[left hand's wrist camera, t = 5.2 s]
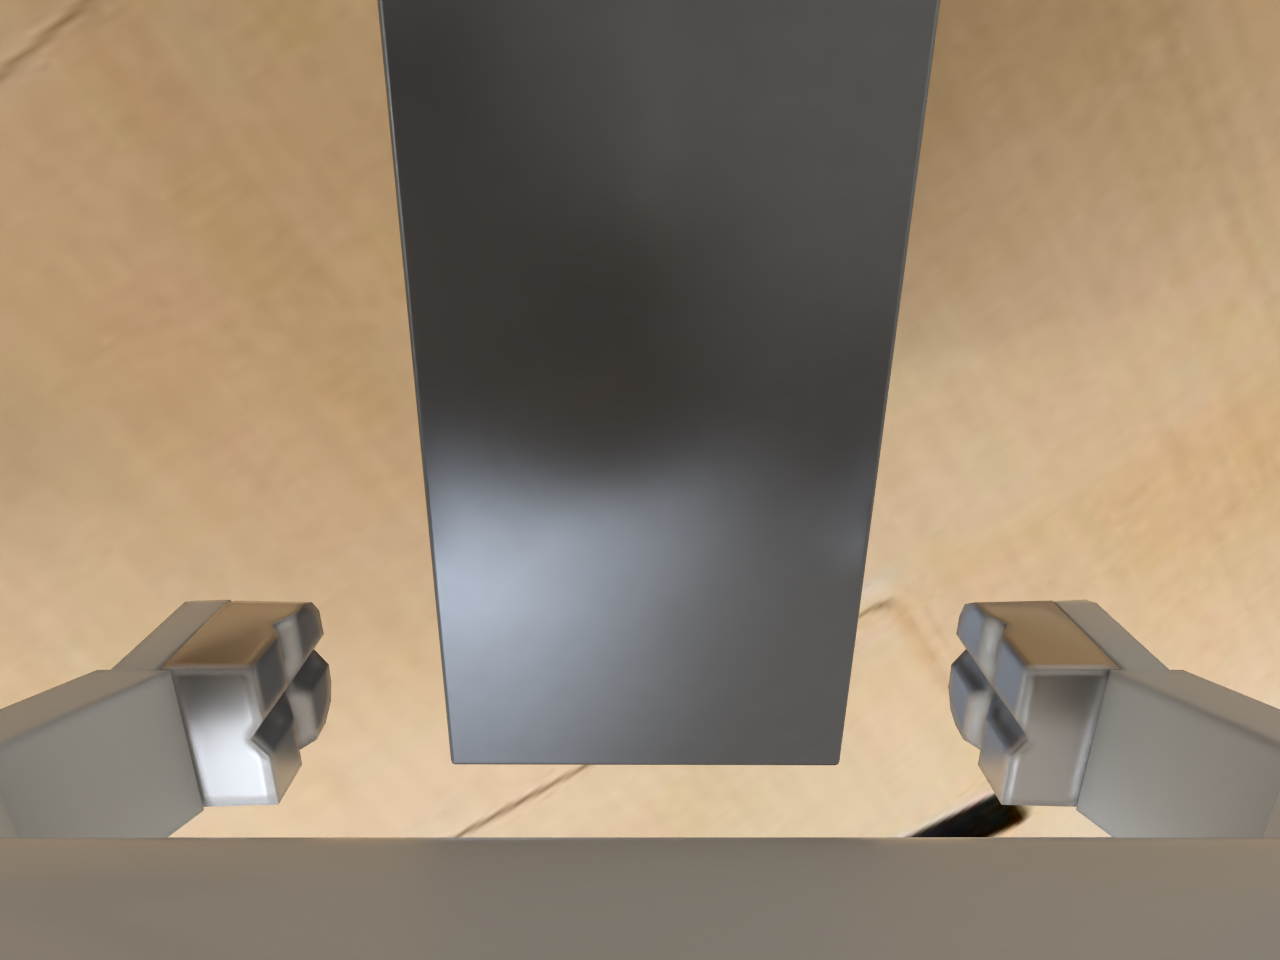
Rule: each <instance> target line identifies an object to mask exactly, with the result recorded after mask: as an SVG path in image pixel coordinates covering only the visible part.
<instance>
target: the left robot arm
mask: <svg viewBox="0 0 1280 960" xmlns="http://www.w3.org/2000/svg"><path fill="white" fill-rule="evenodd" d="M323 634H324V633H323V628H322V623H321V618H320V613H319V610H318V609H317V608H316V607H315V606H314V604H313V603H312V602H268V601H230V600H210V601H191V602H185V603H183V604H182V605H181V606H180V607H179V608H178V609H177V610H176V611H175V612H174V613H173V614H171V615H170V616H169V617H168V618H167V619H166V620H165V621H164V622H163V623H162V624H160V625H159V626H158V627H157V628H156V629H155V630H154V631H153V632H152V633H151V634H149V635H148V636H147V637H146V638H145V639H144V640H143V641H142V642H141V643H140V644H139V645H137V646H136V647H135V648H134V649H133V650H132V651H131V652H130V653H129V654H128V655H126V656H125V657H124V658H123V659H122V660H121V661H120V662H119V663H118V664H117V665H116V666H114V667H113V668H112V669H111V670H96V671H94V672H91V673H89V674H86V675H84V676H81V677H79V678H76V679H74V680H72V681H69V682H67V683H64V684H62V685H59V686H57V687H54V688H52V689H49V690H47V691H44V692H42V693H40V694H37V695H35V696H32V697H30V698H27V699H25V700H22V701H20V702H17V703H15V704H12V705H10V706H7V707H5V708H3V709H0V960H1280V709H1277V708H1275V707H1272V706H1270V705H1267V704H1265V703H1262V702H1260V701H1258V700H1255V699H1253V698H1250V697H1248V696H1245V695H1243V694H1240V693H1238V692H1235V691H1233V690H1231V689H1228V688H1226V687H1223V686H1221V685H1218V684H1216V683H1213V682H1211V681H1208V680H1206V679H1203V678H1201V677H1199V676H1196V675H1194V674H1191V673H1189V672H1186V671H1184V670H1169V669H1168V668H1167V667H1166V666H1165V665H1163V664H1162V663H1161V662H1160V661H1159V660H1158V659H1157V658H1156V657H1155V656H1154V655H1153V654H1151V653H1150V652H1149V651H1148V650H1147V649H1146V648H1145V647H1144V646H1143V645H1142V644H1141V643H1139V642H1138V641H1137V640H1136V639H1135V638H1134V637H1133V636H1132V635H1131V634H1130V633H1129V632H1127V631H1126V630H1125V629H1124V628H1123V627H1122V626H1121V625H1120V624H1119V623H1118V622H1116V621H1115V620H1114V619H1113V618H1112V617H1111V616H1110V615H1109V614H1108V613H1107V612H1106V611H1104V610H1103V609H1102V608H1101V607H1100V606H1099V605H1098V604H1097V603H1094V602H1091V601H1088V600H1070V601H1021V602H979V603H969V604H965V605H964V607H963V610H962V612H961V614H960V616H959V622H958V628H957V633H956V634H957V636H958V637H959V639H960V640H961V642H962V643H963V645H964V646H965V648H966V650H965V651H964V652H963V653H962V654H961V655H960V656H959V657H958V658H957V659H956V660H955V661H954V663H953V664H952V665H951V673H950V681H949V697H950V707H951V712H952V715H953V718H954V721H955V725H956V727H957V728H958V730H959V732H960V734H961V736H962V738H963V739H964V740H965V741H967V742H969V743H970V744H972V745H973V746H975V747H977V748H978V749H980V756H979V762H978V765H979V767H980V769H981V770H982V772H983V774H984V775H985V777H986V779H987V781H988V782H989V784H990V786H991V787H992V789H993V791H994V792H995V794H996V796H997V797H998V799H999V801H1000V803H1001V804H1002V805H1035V806H1072V807H1077V808H1076V810H1077V811H1078V812H1080V813H1081V814H1082V815H1084V816H1085V817H1086V818H1088V819H1089V820H1090V821H1092V822H1093V823H1094V824H1096V825H1097V826H1098V827H1100V828H1101V829H1102V830H1104V831H1105V832H1106V833H1108V834H1109V835H1110V836H1112V837H1037V838H167V837H168V836H170V835H171V834H172V833H174V832H175V831H176V830H178V829H179V828H181V827H182V826H183V825H185V824H186V823H187V822H189V821H190V820H191V819H193V818H194V817H195V816H197V815H198V814H199V813H201V812H202V811H203V807H208V806H243V805H278V804H279V803H280V801H281V799H282V798H283V796H284V794H285V792H286V791H287V789H288V787H289V786H290V784H291V782H292V781H293V779H294V777H295V775H296V774H297V772H298V770H299V769H300V767H301V765H302V762H301V756H300V749H302V748H303V747H305V746H307V745H308V744H310V743H311V742H313V741H315V740H316V739H317V738H318V736H319V734H320V732H321V730H322V728H323V726H324V725H325V722H326V718H327V714H328V710H329V706H330V702H331V678H330V671H329V665H328V664H327V662H326V661H325V660H324V659H323V658H322V657H321V656H320V655H319V654H318V653H317V652H316V651H315V650H314V648H315V646H316V645H317V643H318V642H319V640H320V639H321V637H322V636H323Z"/></svg>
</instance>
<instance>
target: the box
mask: <svg viewBox="0 0 1280 960" xmlns="http://www.w3.org/2000/svg"><path fill="white" fill-rule="evenodd" d="M939 5H940V0H378V11H379V21H380V31H381V41H382V52H383V62H384V72H385V83H386V93H387V103H388V114H389V124H390V134H391V145H392V155H393V165H394V176H395V186H396V196H397V207H398V217H399V227H400V238H401V248H402V258H403V269H404V279H405V289H406V299H407V310H408V320H409V330H410V341H411V351H412V361H413V372H414V382H415V392H416V403H417V413H418V423H419V434H420V444H421V454H422V465H423V475H424V485H425V496H426V506H427V516H428V527H429V537H430V547H431V558H432V568H433V578H434V588H435V599H436V609H437V619H438V630H439V640H440V650H441V661H442V671H443V681H444V692H445V702H446V712H447V723H448V733H449V743H450V754H451V761H452V763H453V764H584V765H837V764H838V763H839V759H840V752H841V744H842V737H843V729H844V721H845V714H846V706H847V699H848V691H849V684H850V676H851V669H852V661H853V654H854V646H855V638H856V631H857V623H858V616H859V608H860V601H861V593H862V586H863V578H864V571H865V563H866V555H867V548H868V540H869V533H870V525H871V518H872V510H873V503H874V495H875V488H876V480H877V472H878V465H879V457H880V450H881V442H882V435H883V427H884V420H885V412H886V405H887V397H888V389H889V382H890V374H891V367H892V359H893V352H894V344H895V337H896V329H897V322H898V314H899V306H900V299H901V291H902V284H903V276H904V269H905V261H906V254H907V246H908V239H909V231H910V224H911V216H912V208H913V201H914V193H915V186H916V178H917V171H918V163H919V156H920V148H921V141H922V133H923V125H924V118H925V110H926V103H927V95H928V88H929V80H930V73H931V65H932V58H933V50H934V42H935V35H936V27H937V20H938V12H939Z"/></svg>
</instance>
